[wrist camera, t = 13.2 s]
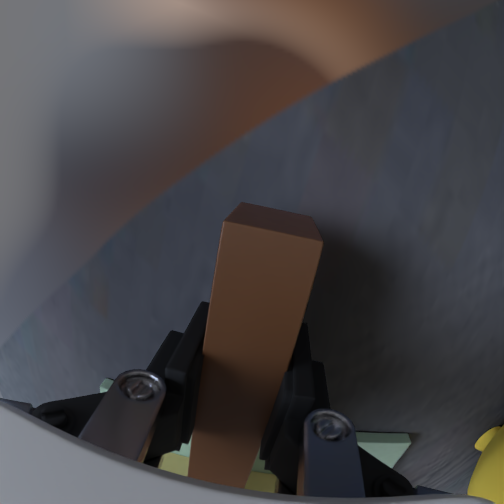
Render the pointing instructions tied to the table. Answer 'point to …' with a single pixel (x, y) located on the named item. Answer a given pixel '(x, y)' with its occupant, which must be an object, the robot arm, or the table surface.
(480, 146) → the table surface
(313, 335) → the table surface
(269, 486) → the butter block
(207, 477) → the knife
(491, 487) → the teapot
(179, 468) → the block
